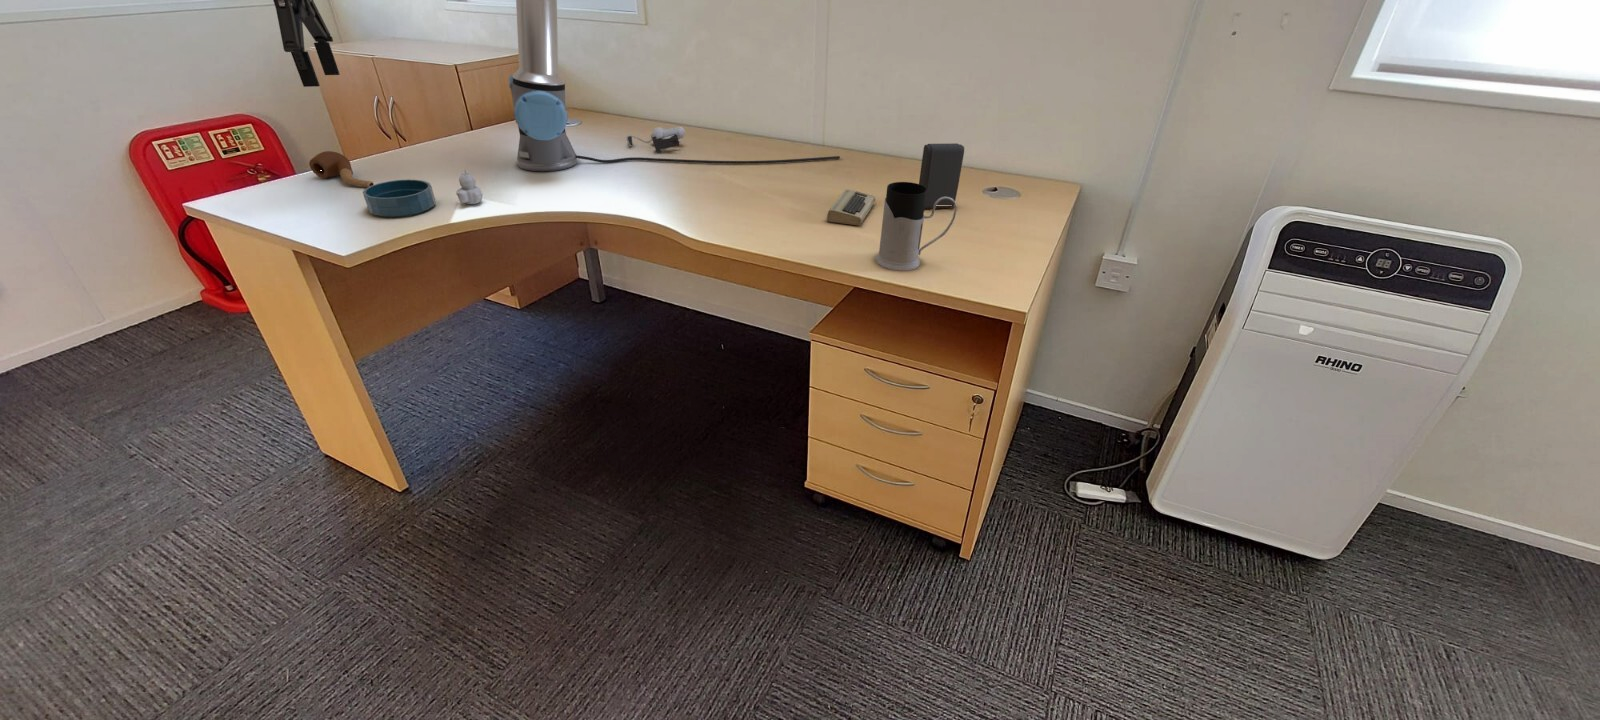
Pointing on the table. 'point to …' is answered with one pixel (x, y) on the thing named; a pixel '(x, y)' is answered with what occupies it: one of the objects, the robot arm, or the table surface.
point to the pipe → (335, 168)
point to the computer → (851, 207)
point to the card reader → (941, 173)
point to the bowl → (399, 198)
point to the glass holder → (904, 226)
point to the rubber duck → (468, 190)
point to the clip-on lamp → (663, 138)
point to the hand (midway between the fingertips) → (322, 80)
